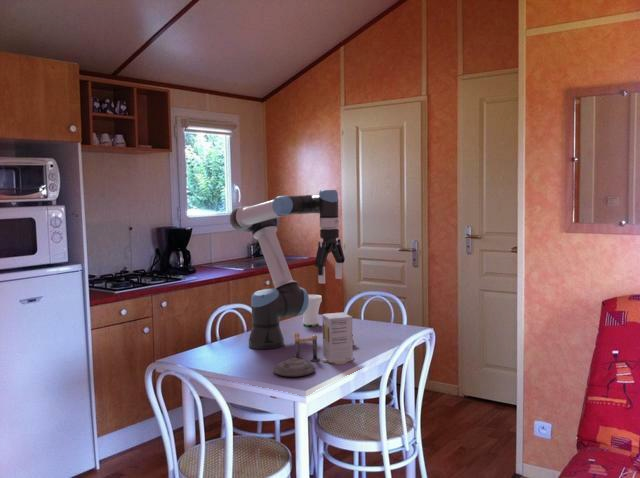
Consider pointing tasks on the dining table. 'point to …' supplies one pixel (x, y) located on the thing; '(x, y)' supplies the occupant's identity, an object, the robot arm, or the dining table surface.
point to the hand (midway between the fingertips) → (330, 281)
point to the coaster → (336, 362)
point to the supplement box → (337, 337)
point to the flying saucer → (294, 368)
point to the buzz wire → (297, 340)
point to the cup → (312, 311)
